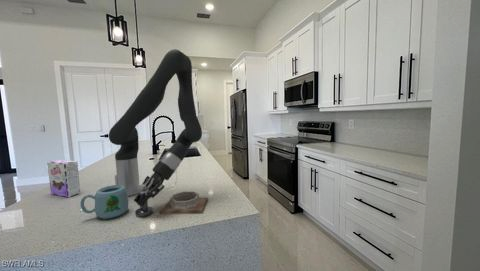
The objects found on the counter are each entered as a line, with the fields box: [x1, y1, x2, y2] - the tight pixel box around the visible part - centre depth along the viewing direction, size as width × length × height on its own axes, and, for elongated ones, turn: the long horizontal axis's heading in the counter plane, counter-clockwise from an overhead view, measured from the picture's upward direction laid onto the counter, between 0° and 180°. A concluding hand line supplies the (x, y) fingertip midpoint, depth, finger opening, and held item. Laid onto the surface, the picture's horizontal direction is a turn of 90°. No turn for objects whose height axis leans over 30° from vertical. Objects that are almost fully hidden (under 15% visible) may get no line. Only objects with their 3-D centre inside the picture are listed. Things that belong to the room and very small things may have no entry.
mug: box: [79, 184, 130, 220], centre depth 79 cm, size 15×11×10 cm
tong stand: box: [159, 191, 209, 215], centre depth 85 cm, size 16×12×4 cm
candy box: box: [46, 159, 81, 198], centre depth 102 cm, size 14×6×16 cm, turn 68°
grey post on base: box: [134, 184, 154, 219], centre depth 79 cm, size 6×6×11 cm
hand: (137, 203), depth 78 cm, fingers open, 3 cm apart
